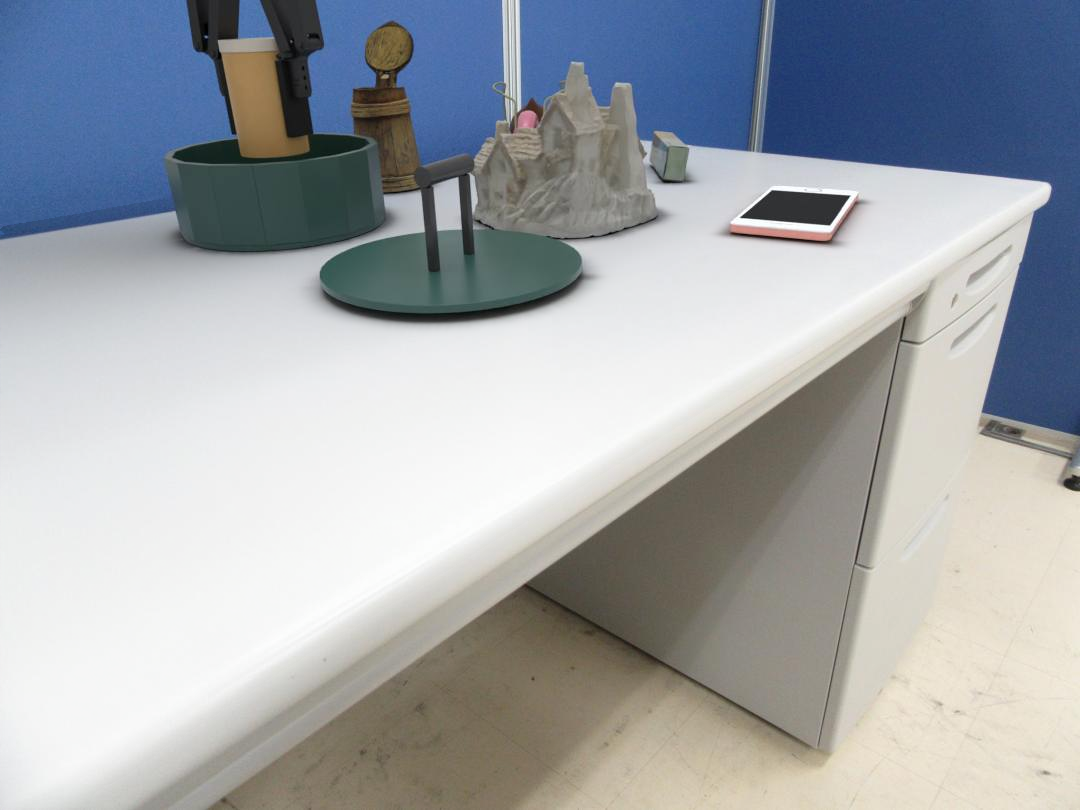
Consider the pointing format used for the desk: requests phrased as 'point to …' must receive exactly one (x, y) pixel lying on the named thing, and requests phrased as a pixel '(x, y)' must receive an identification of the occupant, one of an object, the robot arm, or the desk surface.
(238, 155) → the pot
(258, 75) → the tan canister with cap
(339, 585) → the desk surface
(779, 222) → the cell phone
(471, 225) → the lid
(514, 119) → the anatomy model
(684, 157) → the medication box
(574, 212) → the ceramic cottage
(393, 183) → the wooden mug
